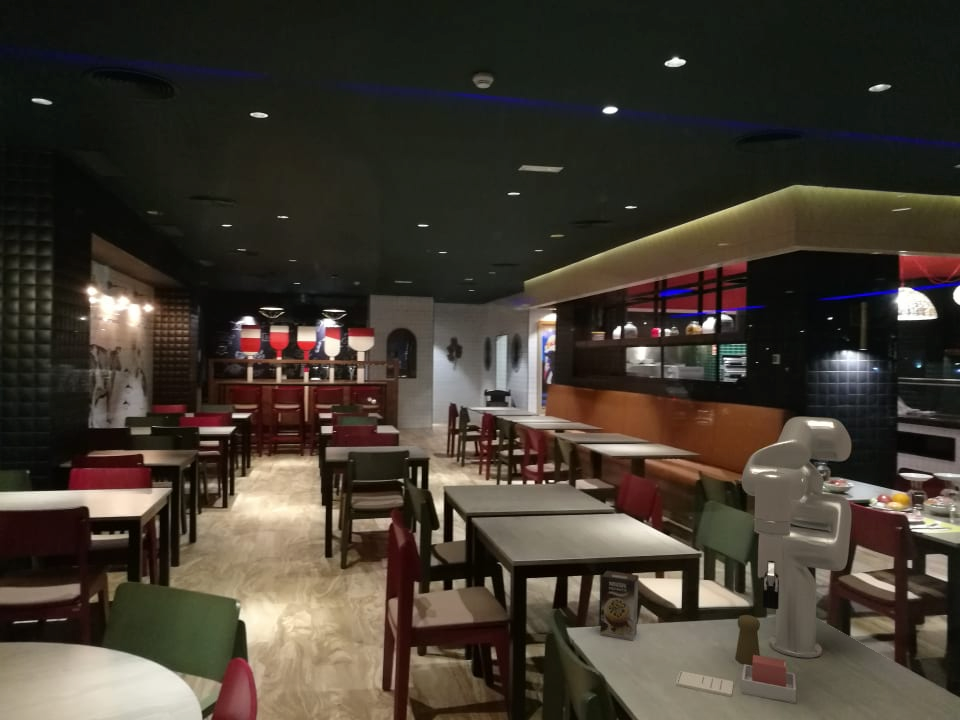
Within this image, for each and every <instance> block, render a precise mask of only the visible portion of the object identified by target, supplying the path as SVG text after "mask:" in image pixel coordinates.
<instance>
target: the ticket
mask: <svg viewBox="0 0 960 720" xmlns="http://www.w3.org/2000/svg"><path fill="white" fill-rule="evenodd" d="M675 686H676V687H680V688H685V689H690V690H691V689H692V690H695V691H701V692H705V693H709V694H710V693H711V694H715V695H719V696H720V695H721V696H724V697H730V698H732V696H733V691H734V690H733V689H734V681H733V680H728V679H724V678H719V677H718V678H717V677H713V676H708V675H703V674H697V673H692V672H687V671H683V670H680V671H679V673H678V676H677V679H676V681H675Z"/></svg>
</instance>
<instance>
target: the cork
mask: <svg viewBox="0 0 960 720" xmlns="http://www.w3.org/2000/svg"><path fill="white" fill-rule="evenodd" d="M760 625H761V624H760V620H759V619H758V618H757V617H756V616H753V615H749V614H743V615H740V616H739V617H738V618H737V626H738V628H739V633H738V639H737V645H736V649H735V650H736V652H735V656H734V657H735V661H736V662H737V663H739V664H742V665H744V664H745V665H750V666H752V662H753V655H757V656H761V654H760V651H761V650H760V645H759V636H758V635H759V634H758V631H760Z"/></svg>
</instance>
